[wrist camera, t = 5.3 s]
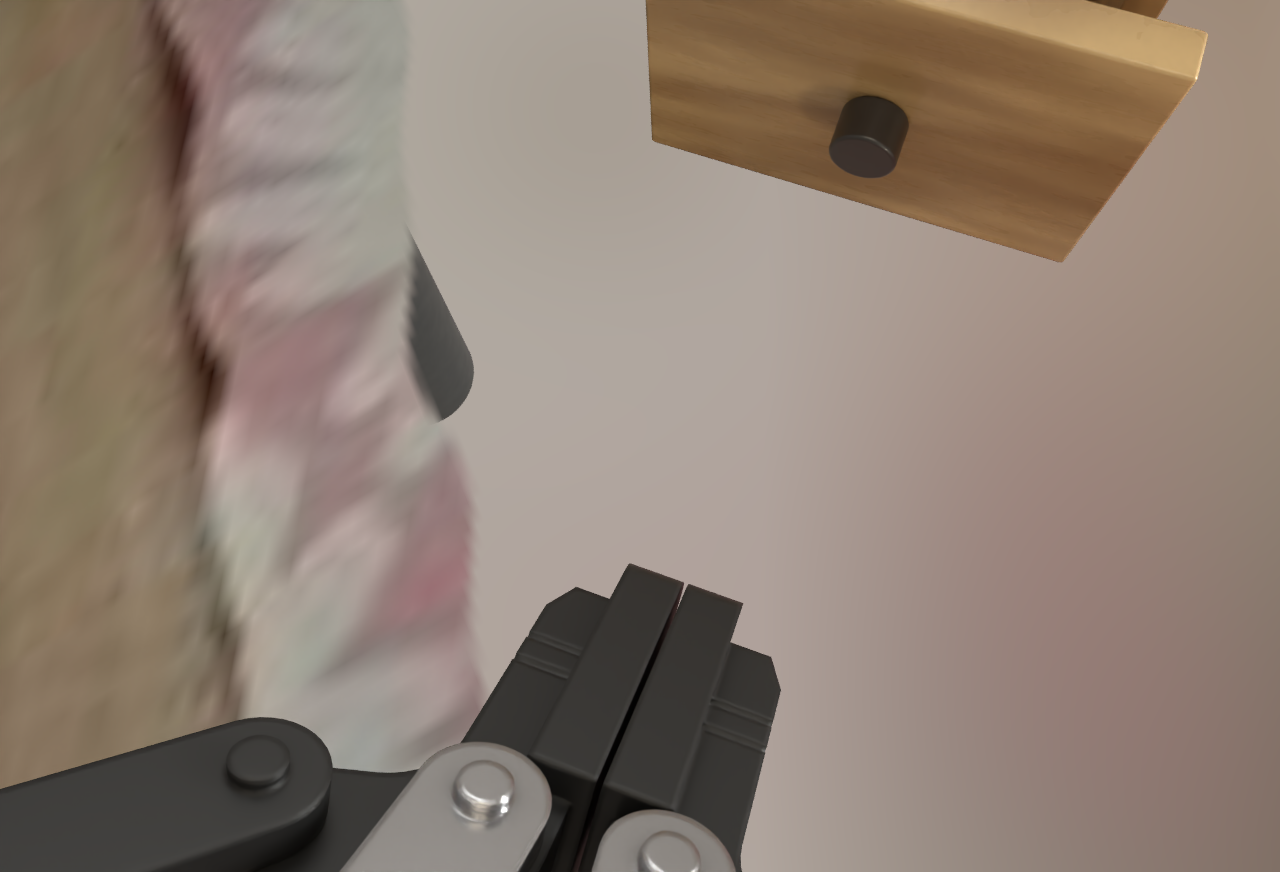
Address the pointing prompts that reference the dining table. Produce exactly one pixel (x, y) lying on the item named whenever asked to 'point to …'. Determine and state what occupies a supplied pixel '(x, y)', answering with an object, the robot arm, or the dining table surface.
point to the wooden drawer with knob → (927, 102)
